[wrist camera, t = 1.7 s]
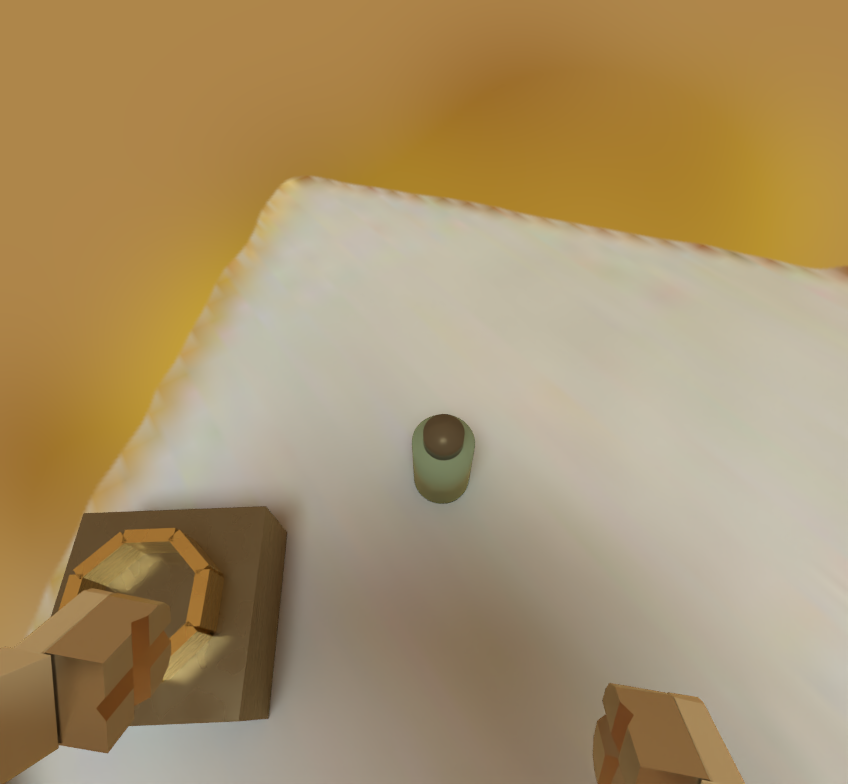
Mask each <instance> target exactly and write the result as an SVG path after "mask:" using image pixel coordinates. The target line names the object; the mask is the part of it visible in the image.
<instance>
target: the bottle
mask: <svg viewBox="0 0 848 784" xmlns="http://www.w3.org/2000/svg"><path fill="white" fill-rule="evenodd" d="M474 448H475V439H474V435H473V433H472V430H471V429H470V427H469V426H468V425H467V424H466V423H465V422H464V421H462V420H461V419H459V418H457V417H455V416H451V415H448V414H440V415H435V416H431V417H429V418H427V419H425V420H424V421H422V422H421V423H420V424H419V425H418V426H417V428H416V429H415V431H414V434H413V438H412V452H413V468H414V482H415V485H416V488H417V490H418V492H419V493H420V494H421V495H422V496H423V497H424V498H425V499H427V500H429V501H431V502H434V503H439V504H444V503H450V502H453V501H455V500H457V499H458V498H459V497H461V496H462V495H463V493H464V492H465V490H466V488H467V486H468V482H469V476H470V471H471V465H472V459H473V454H474Z"/></svg>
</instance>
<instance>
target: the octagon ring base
mask: <svg viewBox="0 0 848 784" xmlns="http://www.w3.org/2000/svg"><path fill="white" fill-rule="evenodd" d="M286 540H287V531H286V530H285V529H284V528H283V527H282V525H281V524H280V523H279V522H278V520H277V519H276V518H275V517H274V516H273V514H272V513H271V512H270V511H269V509H268V508H267V507H266V506H263V507H237V508H211V509H185V510H160V511H134V512H108V513H84V514H83V517H82V520H81V523H80V526H79V530H78V533H77V536H76V539H75V542H74V545H73V549H72V552H71V555H70V558H69V561H68V564H67V568H66V571H65V574H64V577H63V580H62V583H61V587H60V590H59V593H58V596H57V599H56V602H55V606H54V609H53V612H52V615H51V617H52V616H53V615H54V614H55V613H57V612H58V611H59V610H60V609H61V608H63V607H64V606H65V605H66V604H68V603H69V602H70V601H71V600H72V599H74V598H75V597H76V596H77V595H79V594H80V593H81V592H82V591H84V590H88V589H91V588H94V589H99V590H104V591H108V592H113V593H121V594H126V595H131V596H135V597H140V598H145V599H150V600H155V601H159V602H164V603H166V604H167V605H169V606H170V614H171V622H170V623H169V624H168V626H167V627H166V628H165V629H164V632H165V633H166V635H167V636H168V638H169V639H170V641H171V656H170V661H169V666H168V668H167V670H166V673H165V675H164V677H163V679H162V682H161V684H160V685H159V686H158V688H157V689H156V690H155V692H154V693H153V695H152V696H151V697H150V698H148V699H146V700H145V701H143V702H141V703H139V704H137V705H135V706H134V720H133V721H132V722H131V724H130V725H129V726H141V725H164V724H186V723H209V722H232V721H247V720H258V719H268V716H269V706H270V697H271V687H272V677H273V667H274V657H275V648H276V638H277V628H278V618H279V608H280V599H281V589H282V579H283V569H284V559H285V550H286Z"/></svg>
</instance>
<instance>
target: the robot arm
mask: <svg viewBox="0 0 848 784" xmlns="http://www.w3.org/2000/svg"><path fill="white" fill-rule="evenodd" d="M170 622H171V614H170V606H169V605H167V604H166V603H164V602H159V601H155V600H150V599H145V598H140V597H135V596H131V595H126V594H121V593H113V592H108V591H104V590H99V589H94V588H91V589H88V590H84V591H82V592H81V593H80V594H79V595H77V596H76V597H75V598H74V599H72V600H71V601H70V602H69V603H68V604H66V605H65V606H64V607H63V608H61V609H60V610H59V611H58V612H57V613H55V614H54V615H53V616H52V617H51V618H49V619H48V620H47V621H46V622H44V623H43V624H42V625H41V626H40V627H38V628H37V629H36V630H35V631H33V632H32V633H31V634H30V635H29V636H27V637H26V638H25V639H24V640H23V641H21V642H20V643H19V644H18V645H16V646H15V647H14V648H11V647H3V648H0V784H4V783H6V782H7V781H9V780H11V779H12V778H14V777H15V776H17V775H18V774H20V773H21V772H23V771H24V770H26V769H27V768H29V767H30V766H32V765H34V764H35V763H37V762H38V761H40V760H41V759H43V758H44V757H46V756H47V755H49V754H50V753H52V752H53V751H55V750H57V749H58V748H59V745H62V746H68V747H74V748H80V749H86V750H91V751H97V752H103V753H109V751H110V750H111V749H112V747H113V746H114V745H115V743H116V742H117V741H118V739H119V738H120V737H121V736H122V734H123V733H124V732H125V730H126V729H127V728H128V726H129V725H130V724H131V722H132V721H133V720H134V706H135V705H137V704H139V703H141V702H143V701H145V700H146V699H148V698H150V697H151V696H152V695H153V693H154V692H155V690H156V689H157V688H158V686H159V685H160V684H161V682H162V679H163V677H164V675H165V673H166V670H167V668H168V666H169V661H170V656H171V641H170V639H169V638H168V636H167V635H166V633H165V632H164V629H165V628H166V627H167V626H168V624H169V623H170ZM602 701H603V705H604V709H605V713H606V715H604V716H603V717H602V718H600V719H599V720H598V721H597V723H596V728H595V732H594V737H593V761H594V770H595V775H596V780H597V784H745V782H744V781H743V779H742V777H741V775H740V773H739V771H738V769H737V767H736V765H735V763H734V761H733V759H732V757H731V755H730V753H729V751H728V749H727V747H726V745H725V744H724V742H723V740H722V738H721V736H720V734H719V732H718V730H717V728H716V726H715V724H714V722H713V720H712V718H711V716H710V714H709V712H708V710H707V708H706V707H705V705H704V703H703V702H702V701H701V700H700V699H699V698H698V697H694V696H688V695H681V694H675V693H669V692H668V693H665V692H660V691H654V690H648V689H643V688H637V687H631V686H625V685H619V684H614V683H609V684H608V686H607V687H606V689H605V692H604V696H603V700H602Z"/></svg>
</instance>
